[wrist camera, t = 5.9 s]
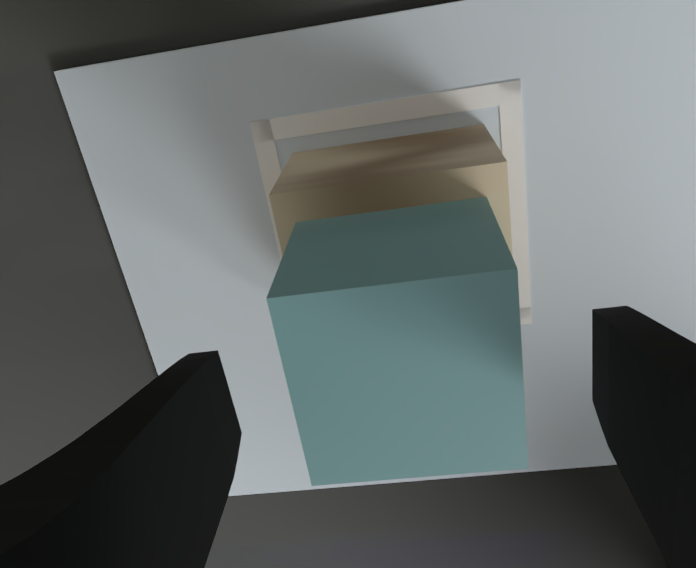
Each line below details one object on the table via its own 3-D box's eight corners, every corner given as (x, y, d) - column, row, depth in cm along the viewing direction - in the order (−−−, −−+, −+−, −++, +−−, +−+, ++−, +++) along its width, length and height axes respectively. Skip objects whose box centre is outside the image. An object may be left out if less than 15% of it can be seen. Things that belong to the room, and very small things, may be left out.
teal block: (486, 197, 15) (517, 268, 11) (498, 361, 17) (528, 468, 13) (295, 221, 15) (266, 298, 12) (328, 378, 17) (311, 486, 14)
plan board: (723, -46, 16) (731, -46, 16) (684, 451, 23) (690, 459, 22) (60, 70, 18) (52, 71, 18) (203, 490, 25) (200, 499, 25)
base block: (483, 123, 18) (506, 161, 14) (496, 297, 20) (518, 366, 17) (292, 152, 19) (269, 194, 15) (325, 317, 21) (312, 388, 17)
